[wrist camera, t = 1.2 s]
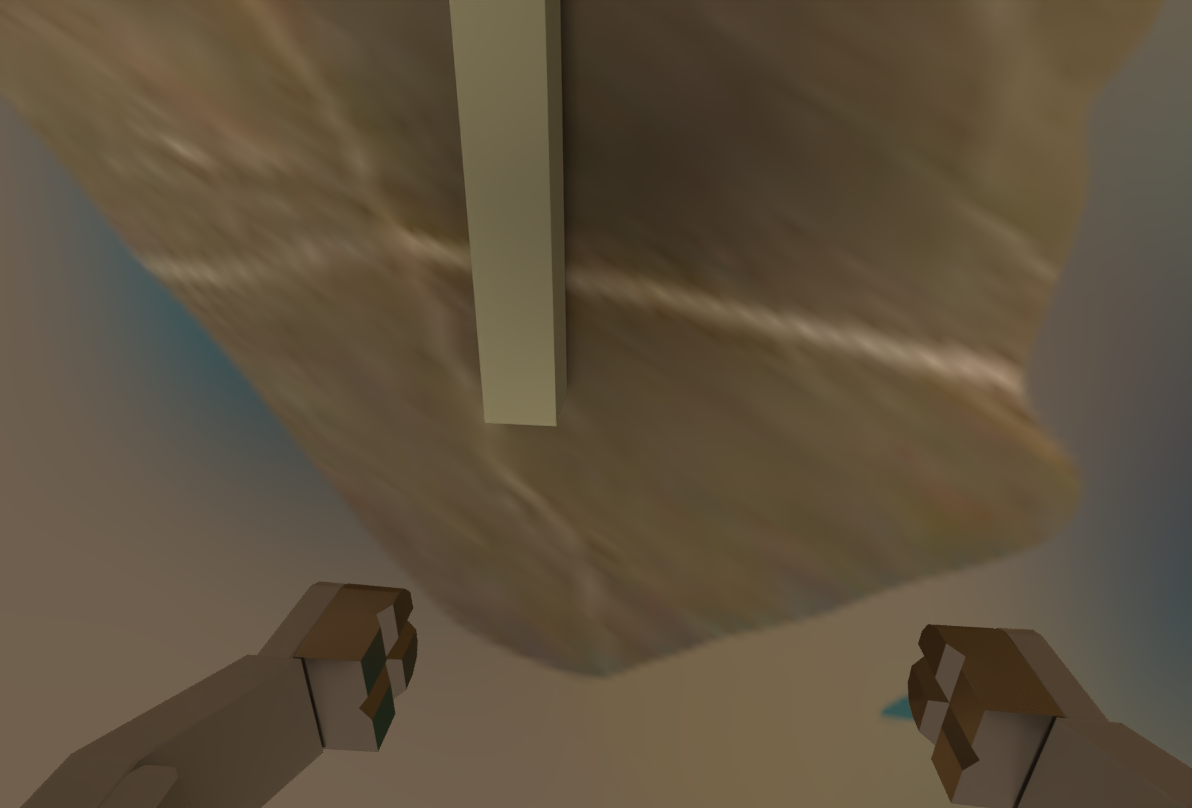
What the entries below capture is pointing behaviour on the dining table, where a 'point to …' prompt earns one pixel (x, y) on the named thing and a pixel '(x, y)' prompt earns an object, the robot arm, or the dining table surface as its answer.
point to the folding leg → (514, 200)
